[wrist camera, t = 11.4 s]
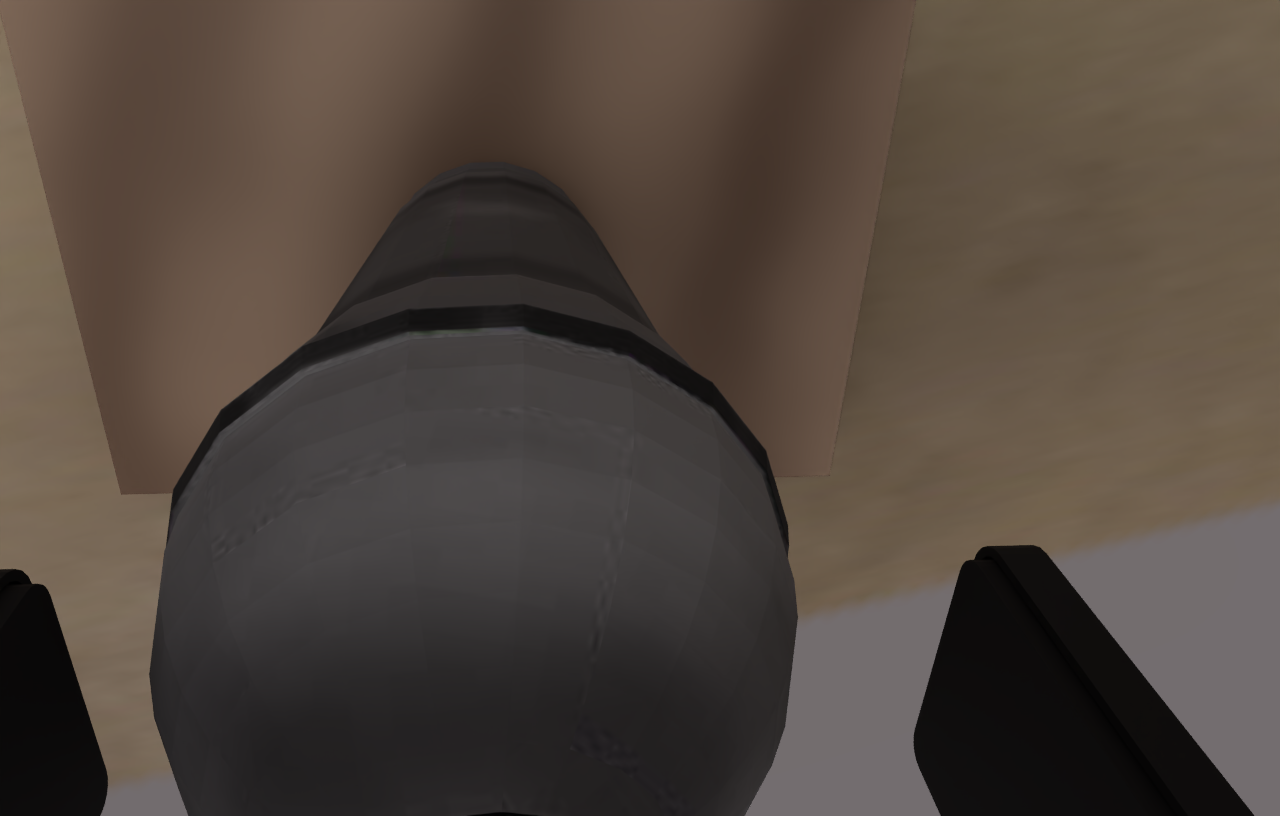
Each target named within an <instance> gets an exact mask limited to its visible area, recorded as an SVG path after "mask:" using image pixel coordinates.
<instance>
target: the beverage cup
mask: <svg viewBox="0 0 1280 816" xmlns="http://www.w3.org/2000/svg"><path fill="white" fill-rule="evenodd" d="M788 549H789V537H788V524H787V520H786V517H785V513H784V510H783V507H782V503H781V500H780V496H779V493H778V489H777V486H776V483H775V479H774V476H773V472H772V469H771V465H770V462H769V459H768V455H767V452H766V450H765V448H764V447H763V446H762V445H761V443H760V442H759V441H758V439H757V438H756V437H755V436H754V434H753V433H752V432H751V430H750V429H749V428H748V427H747V425H746V424H745V423H744V422H743V420H742V419H741V418H740V416H739V415H738V414H737V413H736V411H735V410H734V409H733V408H732V406H731V405H730V404H729V402H728V401H727V400H726V399H725V397H724V396H723V395H722V393H721V392H720V391H719V390H718V388H717V387H716V386H715V385H714V383H713V382H711V381H710V380H708V379H707V378H705V377H703V376H702V375H700V374H699V373H697V372H695V371H694V370H693V369H692V368H691V367H690V366H689V364H688V363H687V362H686V361H685V360H684V359H683V358H682V357H681V356H680V355H679V354H678V353H677V352H676V351H675V350H674V349H673V348H672V347H671V346H670V345H669V344H668V343H667V342H666V341H665V340H664V339H663V338H662V337H661V336H660V335H659V334H658V332H657V331H656V329H655V328H654V326H653V324H652V323H651V321H650V319H649V318H648V316H647V314H646V313H645V311H644V310H643V308H642V306H641V305H640V303H639V301H638V300H637V298H636V296H635V295H634V293H633V292H632V290H631V288H630V287H629V285H628V283H627V282H626V280H625V278H624V277H623V275H622V274H621V272H620V270H619V269H618V267H617V265H616V264H615V262H614V260H613V259H612V257H611V255H610V254H609V252H608V251H607V249H606V247H605V246H604V244H603V242H602V241H601V239H600V237H599V236H598V234H597V233H596V231H595V230H594V228H593V227H592V226H591V225H590V223H589V222H588V221H587V220H586V218H585V217H584V216H583V214H582V213H581V212H580V211H579V209H578V208H577V207H576V206H575V204H574V203H573V202H572V201H571V200H570V199H569V197H568V196H567V195H566V194H565V192H564V191H563V190H562V189H561V188H559V187H558V186H557V185H555V184H554V183H552V182H551V181H549V180H548V179H546V178H545V177H543V176H542V175H540V174H539V173H537V172H536V171H533V170H530V169H526V168H523V167H519V166H516V165H512V164H509V163H506V162H479V163H468V164H465V165H463V166H460V167H457V168H454V169H451V170H449V171H446V172H443V173H440V174H439V175H437V176H436V177H435V178H434V179H432V180H431V181H430V182H429V183H427V184H426V185H425V186H424V187H422V188H421V189H420V190H418V191H417V192H416V193H415V194H414V195H413V197H412V199H411V200H410V201H409V202H408V203H407V204H405V205H404V206H403V207H402V208H401V209H400V210H399V212H398V213H397V215H396V216H395V218H394V219H393V221H392V222H391V224H390V225H389V227H388V228H387V230H386V231H385V232H384V234H383V235H382V237H381V238H380V240H379V241H378V243H377V244H376V246H375V247H374V249H373V250H372V252H371V253H370V255H369V256H368V258H367V259H366V261H365V262H364V264H363V265H362V267H361V268H360V270H359V271H358V273H357V274H356V276H355V277H354V279H353V280H352V282H351V283H350V285H349V286H348V288H347V289H346V291H345V292H344V294H343V295H342V297H341V298H340V300H339V301H338V303H337V304H336V306H335V307H334V309H333V310H332V312H331V313H330V315H329V316H328V318H327V319H326V321H325V322H324V324H323V325H322V327H321V328H320V330H319V331H318V333H317V334H316V335H315V336H314V337H312V338H311V339H310V340H308V341H307V342H306V343H305V344H303V345H302V346H301V347H299V348H298V349H297V350H296V351H294V352H293V353H292V354H291V355H289V356H288V357H287V358H286V359H285V360H284V361H283V362H281V363H280V364H279V365H278V366H276V367H275V368H274V369H272V370H271V371H270V372H269V373H267V374H266V375H265V376H263V377H262V378H261V379H260V380H258V381H257V382H256V383H254V384H253V385H252V386H251V387H249V388H248V389H247V390H245V391H244V392H243V393H242V394H240V395H239V396H238V397H236V398H235V399H234V400H233V401H231V402H230V403H229V404H227V405H226V406H225V407H224V408H222V409H221V410H220V412H219V413H218V415H217V417H216V418H215V420H214V422H213V423H212V425H211V427H210V428H209V430H208V432H207V434H206V435H205V437H204V439H203V440H202V442H201V444H200V445H199V447H198V449H197V450H196V452H195V454H194V455H193V457H192V459H191V460H190V462H189V464H188V465H187V467H186V469H185V470H184V472H183V474H182V475H181V477H180V479H179V480H178V482H177V484H176V485H175V487H174V489H173V495H172V503H171V511H170V519H169V527H168V535H167V543H166V549H165V551H164V559H163V567H162V575H161V583H160V591H159V599H158V607H157V615H156V623H155V631H154V640H153V648H152V656H151V665H150V673H149V676H150V685H151V693H152V702H153V711H154V719H155V722H156V724H157V727H158V730H159V733H160V736H161V739H162V742H163V745H164V748H165V751H166V754H167V757H168V760H169V762H170V765H171V768H172V771H173V774H174V777H175V780H176V783H177V786H178V789H179V791H180V794H181V797H182V800H183V802H184V805H185V808H186V810H187V813H188V816H744V815H745V814H746V812H747V810H748V808H749V806H750V805H751V803H752V801H753V799H754V797H755V795H756V793H757V792H758V790H759V788H760V786H761V784H762V782H763V781H764V779H765V777H766V775H767V773H768V771H769V770H770V768H771V766H772V763H773V760H774V757H775V755H776V752H777V749H778V746H779V743H780V740H781V737H782V734H783V731H784V728H785V722H786V713H787V705H788V697H789V688H790V680H791V671H792V662H793V654H794V645H795V637H796V628H797V619H798V615H797V605H796V594H795V584H794V578H793V575H792V571H791V568H790V565H789V561H788Z"/></svg>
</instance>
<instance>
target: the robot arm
mask: <svg viewBox="0 0 1280 816" xmlns="http://www.w3.org/2000/svg"><path fill="white" fill-rule="evenodd" d="M914 751H915V756H916V761H917V763H918V766H919V769H920V771H921V773H922V775H923V777H924V780H925V782H926V784H927V786H928V789H929V790H930V793H931V795H932V797H933V800H934V802H935V804H936V806H937V808H938V810H939V813H940V815H941V816H1254V815H1253V813H1252V812H1251V811H1250V810H1249V808H1248V807H1247V806H1246V804H1245V803H1244V802H1243V801H1242V799H1241V798H1240V797H1239V796H1238V794H1237V793H1236V792H1235V791H1234V789H1233V788H1232V787H1231V786H1230V784H1229V783H1228V782H1227V781H1226V779H1225V778H1224V777H1223V775H1222V774H1221V773H1220V772H1219V770H1218V769H1217V768H1216V767H1215V765H1214V764H1213V763H1212V762H1211V760H1210V759H1209V758H1208V757H1207V755H1206V754H1205V753H1204V752H1203V750H1202V749H1201V748H1200V747H1199V745H1198V744H1197V743H1196V742H1195V740H1194V739H1193V738H1192V736H1191V735H1190V734H1189V733H1188V731H1187V730H1186V729H1185V728H1184V726H1183V725H1182V724H1181V723H1180V721H1179V720H1178V719H1177V717H1176V716H1175V715H1174V714H1173V712H1172V711H1171V710H1170V709H1169V707H1168V706H1167V705H1166V704H1165V702H1164V701H1163V700H1162V699H1161V697H1160V696H1159V695H1158V694H1157V692H1156V691H1155V690H1154V688H1152V686H1151V685H1150V683H1149V682H1148V681H1147V680H1146V678H1145V677H1144V676H1143V675H1142V673H1141V672H1140V671H1139V670H1138V668H1137V667H1136V666H1135V664H1134V663H1133V662H1132V661H1131V660H1130V658H1129V657H1128V656H1127V654H1126V653H1125V652H1124V651H1123V649H1122V648H1121V647H1120V646H1119V644H1118V643H1117V642H1116V641H1115V639H1114V638H1113V637H1112V636H1111V635H1110V633H1109V632H1108V630H1107V629H1106V628H1105V627H1104V626H1103V624H1102V623H1101V622H1100V620H1099V619H1098V618H1097V617H1096V615H1095V614H1094V613H1093V612H1092V610H1091V609H1090V608H1089V607H1088V605H1087V604H1086V603H1085V601H1084V600H1083V599H1082V598H1081V596H1080V595H1079V594H1078V593H1077V592H1076V590H1075V589H1074V588H1073V586H1072V585H1071V584H1070V583H1069V581H1068V580H1067V579H1066V577H1065V576H1064V575H1063V574H1062V572H1061V571H1060V570H1059V569H1058V567H1057V566H1056V565H1055V564H1054V562H1053V561H1052V560H1051V559H1050V557H1049V556H1048V555H1047V554H1046V553H1045V552H1044V551H1043V550H1042V549H1041V548H1040V547H1037V546H1034V545H1019V546H987V547H983V548H981V549H980V550H979V551H978V552H977V554H976V557H975V559H974V560H968V561H966V562H965V563H964V564H963V565H962V567H961V570H960V573H959V576H958V580H957V583H956V587H955V590H954V594H953V597H952V601H951V605H950V608H949V612H948V615H947V618H946V622H945V625H944V629H943V632H942V636H941V639H940V643H939V647H938V650H937V653H936V657H935V661H934V664H933V668H932V672H931V675H930V678H929V682H928V685H927V689H926V692H925V696H924V699H923V703H922V706H921V710H920V713H919V717H918V720H917V724H916V728H915V732H914ZM107 788H108V776H107V771H106V767H105V764H104V761H103V758H102V755H101V752H100V749H99V745H98V742H97V739H96V736H95V733H94V730H93V727H92V724H91V721H90V717H89V714H88V711H87V708H86V705H85V702H84V699H83V696H82V693H81V689H80V686H79V683H78V680H77V677H76V674H75V671H74V668H73V665H72V661H71V658H70V655H69V652H68V649H67V646H66V643H65V640H64V636H63V633H62V630H61V627H60V624H59V621H58V618H57V615H56V612H55V608H54V605H53V602H52V599H51V596H50V594H49V592H48V590H47V588H46V587H45V586H44V585H41V584H32V583H31V581H30V579H29V577H28V576H27V575H26V574H25V573H24V572H23V571H21V570H16V569H2V570H0V816H100V815H101V813H102V810H103V807H104V804H105V800H106V796H107Z"/></svg>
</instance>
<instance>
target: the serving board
mask: <svg viewBox="0 0 1280 816" xmlns="http://www.w3.org/2000/svg"><path fill="white" fill-rule="evenodd" d="M915 5H916V0H0V14H1V18H2V22H3V26H4V30H5V34H6V38H7V42H8V46H9V50H10V54H11V58H12V62H13V66H14V70H15V74H16V78H17V82H18V86H19V90H20V94H21V98H22V102H23V106H24V110H25V114H26V118H27V122H28V126H29V130H30V134H31V138H32V142H33V146H34V150H35V153H36V157H37V161H38V165H39V169H40V173H41V177H42V181H43V185H44V189H45V193H46V197H47V201H48V205H49V209H50V213H51V217H52V221H53V225H54V229H55V233H56V237H57V241H58V245H59V249H60V253H61V257H62V261H63V265H64V269H65V273H66V277H67V281H68V285H69V289H70V293H71V297H72V301H73V305H74V309H75V313H76V317H77V321H78V325H79V329H80V333H81V337H82V340H83V344H84V348H85V352H86V356H87V360H88V364H89V368H90V372H91V376H92V380H93V384H94V388H95V392H96V396H97V400H98V404H99V408H100V412H101V416H102V420H103V424H104V428H105V432H106V436H107V440H108V444H109V448H110V452H111V456H112V460H113V464H114V468H115V472H116V476H117V480H118V484H119V488H120V492H121V494H158V493H173V489H174V487H175V485H176V484H177V482H178V480H179V479H180V477H181V475H182V474H183V472H184V470H185V469H186V467H187V465H188V464H189V462H190V460H191V459H192V457H193V455H194V454H195V452H196V450H197V449H198V447H199V445H200V444H201V442H202V440H203V439H204V437H205V435H206V434H207V432H208V430H209V428H210V427H211V425H212V423H213V422H214V420H215V418H216V417H217V415H218V413H219V412H220V410H221V409H222V408H224V407H225V406H226V405H227V404H229V403H230V402H231V401H233V400H234V399H235V398H236V397H238V396H239V395H240V394H242V393H243V392H244V391H245V390H247V389H248V388H249V387H251V386H252V385H253V384H254V383H256V382H257V381H258V380H260V379H261V378H262V377H263V376H265V375H266V374H267V373H269V372H270V371H271V370H272V369H274V368H275V367H276V366H278V365H279V364H280V363H281V362H283V361H284V360H285V359H286V358H287V357H288V356H289V355H291V354H292V353H293V352H294V351H296V350H297V349H298V348H299V347H301V346H302V345H303V344H305V343H306V342H307V341H308V340H310V339H311V338H312V337H314V336H315V335H316V334H317V333H318V331H319V330H320V328H321V327H322V325H323V324H324V322H325V321H326V319H327V318H328V316H329V315H330V313H331V312H332V310H333V309H334V307H335V306H336V304H337V303H338V301H339V300H340V298H341V297H342V295H343V294H344V292H345V291H346V289H347V288H348V286H349V285H350V283H351V282H352V280H353V279H354V277H355V276H356V274H357V273H358V271H359V270H360V268H361V267H362V265H363V264H364V262H365V261H366V259H367V258H368V256H369V255H370V253H371V252H372V250H373V249H374V247H375V246H376V244H377V243H378V241H379V240H380V238H381V237H382V235H383V234H384V232H385V231H386V230H387V228H388V227H389V225H390V224H391V222H392V221H393V219H394V218H395V216H396V215H397V213H398V212H399V210H400V209H401V208H402V207H403V206H404V205H405V204H407V203H408V202H409V201H410V200H411V199H412V197H413V195H414V194H415V193H416V192H417V191H418V190H420V189H421V188H422V187H424V186H425V185H426V184H427V183H429V182H430V181H431V180H432V179H434V178H435V177H436V176H437V175H439V174H440V173H443V172H446V171H449V170H451V169H454V168H457V167H460V166H463V165H465V164H468V163H479V162H506V163H509V164H512V165H516V166H519V167H523V168H526V169H530V170H533V171H536V172H537V173H539V174H540V175H542V176H543V177H545V178H546V179H548V180H549V181H551V182H552V183H554V184H555V185H557V186H558V187H559V188H561V189H562V190H563V191H564V192H565V194H566V195H567V196H568V197H569V199H570V200H571V201H572V202H573V203H574V204H575V206H576V207H577V208H578V209H579V211H580V212H581V213H582V214H583V216H584V217H585V218H586V220H587V221H588V222H589V223H590V225H591V226H592V227H593V228H594V230H595V231H596V233H597V234H598V236H599V237H600V239H601V241H602V242H603V244H604V246H605V247H606V249H607V251H608V252H609V254H610V255H611V257H612V259H613V260H614V262H615V264H616V265H617V267H618V269H619V270H620V272H621V274H622V275H623V277H624V278H625V280H626V282H627V283H628V285H629V287H630V288H631V290H632V292H633V293H634V295H635V296H636V298H637V300H638V301H639V303H640V305H641V306H642V308H643V310H644V311H645V313H646V314H647V316H648V318H649V319H650V321H651V323H652V324H653V326H654V328H655V329H656V331H657V332H658V334H659V335H660V336H661V337H662V338H663V339H664V340H665V341H666V342H667V343H668V344H669V345H670V346H671V347H672V348H673V349H674V350H675V351H676V352H677V353H678V354H679V355H680V356H681V357H682V358H683V359H684V360H685V361H686V362H687V363H688V364H689V366H690V367H691V368H692V369H693V370H694V371H695V372H697V373H699V374H700V375H702V376H703V377H705V378H707V379H708V380H710V381H711V382H713V383H714V385H715V386H716V387H717V388H718V390H719V391H720V392H721V393H722V395H723V396H724V397H725V399H726V400H727V401H728V402H729V404H730V405H731V406H732V408H733V409H734V410H735V411H736V413H737V414H738V415H739V416H740V418H741V419H742V420H743V422H744V423H745V424H746V425H747V427H748V428H749V429H750V430H751V432H752V433H753V434H754V436H755V437H756V438H757V439H758V441H759V442H760V443H761V445H762V446H763V447H764V448H765V450H766V452H767V455H768V459H769V462H770V465H771V469H772V472H773V476H774V477H797V476H830V470H831V465H832V459H833V454H834V448H835V443H836V437H837V432H838V426H839V421H840V415H841V410H842V404H843V399H844V394H845V388H846V383H847V377H848V372H849V366H850V361H851V355H852V350H853V344H854V339H855V333H856V328H857V322H858V317H859V311H860V306H861V300H862V295H863V289H864V284H865V279H866V273H867V268H868V262H869V257H870V251H871V246H872V240H873V235H874V229H875V224H876V218H877V213H878V207H879V202H880V196H881V191H882V185H883V180H884V174H885V169H886V164H887V158H888V153H889V147H890V142H891V136H892V131H893V125H894V120H895V114H896V109H897V103H898V98H899V92H900V87H901V81H902V76H903V70H904V65H905V59H906V54H907V49H908V43H909V38H910V32H911V27H912V21H913V16H914V10H915Z"/></svg>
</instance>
